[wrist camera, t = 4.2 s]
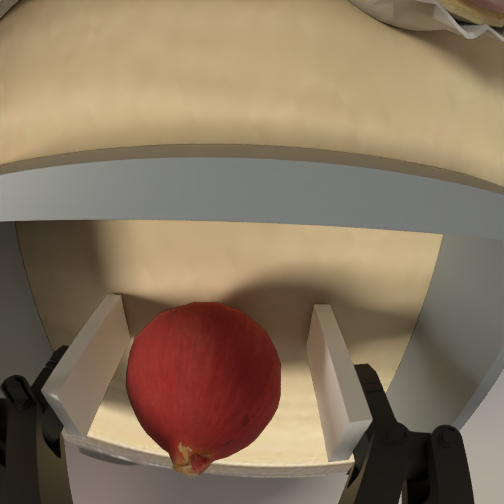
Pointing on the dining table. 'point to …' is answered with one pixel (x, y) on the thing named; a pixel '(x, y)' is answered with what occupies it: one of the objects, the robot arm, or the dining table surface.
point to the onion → (203, 382)
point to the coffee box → (6, 6)
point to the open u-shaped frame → (286, 212)
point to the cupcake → (440, 15)
